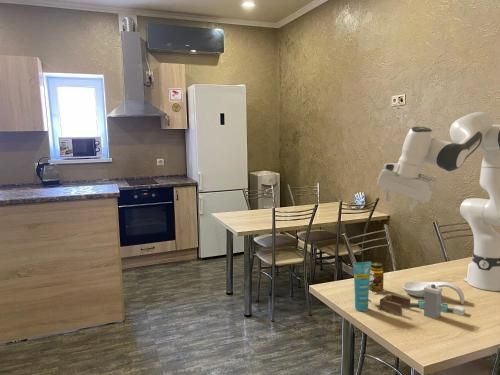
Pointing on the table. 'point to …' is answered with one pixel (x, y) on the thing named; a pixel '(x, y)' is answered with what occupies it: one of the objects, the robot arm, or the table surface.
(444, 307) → the clip
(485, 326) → the table surface
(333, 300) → the table surface
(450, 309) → the cable
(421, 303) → the clip
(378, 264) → the condiment
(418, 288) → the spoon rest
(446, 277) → the table surface
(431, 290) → the grey block with knob
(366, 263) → the tube
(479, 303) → the table surface
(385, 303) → the holder
